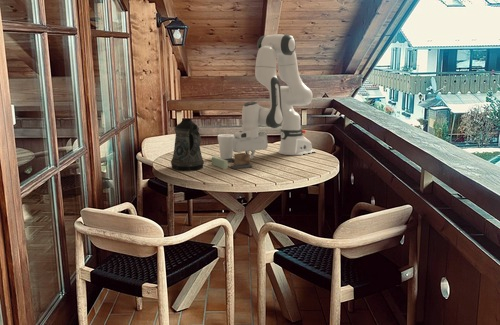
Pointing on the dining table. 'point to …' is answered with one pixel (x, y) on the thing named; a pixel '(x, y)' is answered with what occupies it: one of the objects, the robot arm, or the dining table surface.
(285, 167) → the dining table surface
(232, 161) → the trap pair
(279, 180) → the dining table surface
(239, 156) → the walnut block
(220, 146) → the foam cup
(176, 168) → the beer stein
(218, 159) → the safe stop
